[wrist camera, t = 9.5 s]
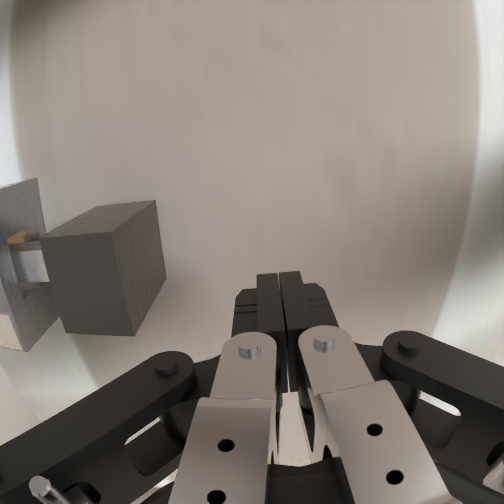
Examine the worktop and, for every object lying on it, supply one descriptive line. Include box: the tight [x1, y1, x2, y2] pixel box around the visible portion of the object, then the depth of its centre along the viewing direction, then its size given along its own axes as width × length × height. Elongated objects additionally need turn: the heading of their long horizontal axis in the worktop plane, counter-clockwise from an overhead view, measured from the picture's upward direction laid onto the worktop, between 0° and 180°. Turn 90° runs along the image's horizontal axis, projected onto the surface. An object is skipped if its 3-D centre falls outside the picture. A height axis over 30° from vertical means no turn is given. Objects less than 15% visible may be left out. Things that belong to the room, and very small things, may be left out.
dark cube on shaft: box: [8, 200, 166, 336], centre depth 15 cm, size 12×5×8 cm, turn 93°
